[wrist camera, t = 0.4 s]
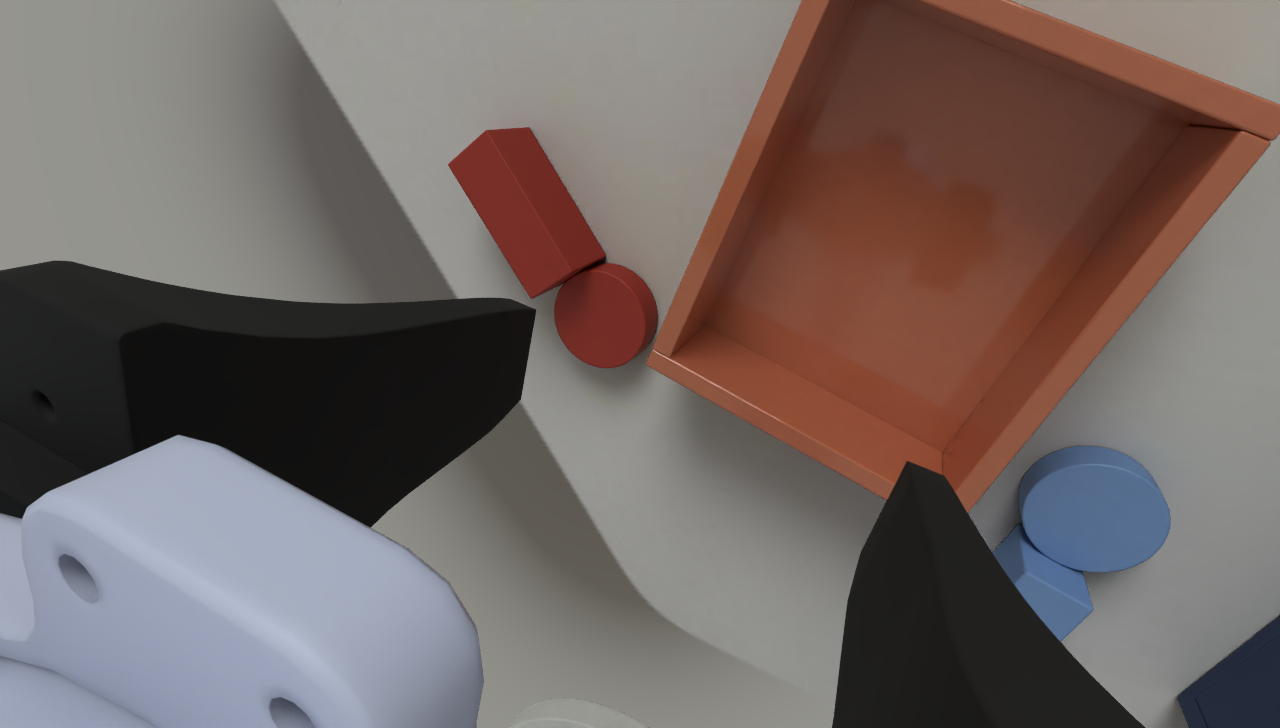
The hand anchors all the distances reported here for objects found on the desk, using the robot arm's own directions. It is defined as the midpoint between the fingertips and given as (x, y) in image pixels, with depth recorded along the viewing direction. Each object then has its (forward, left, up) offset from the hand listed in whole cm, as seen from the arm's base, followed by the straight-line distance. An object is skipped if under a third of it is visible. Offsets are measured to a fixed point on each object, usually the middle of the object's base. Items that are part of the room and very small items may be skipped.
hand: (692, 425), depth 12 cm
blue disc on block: (-5, -11, -11) cm, 16 cm away
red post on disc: (-3, +8, -11) cm, 14 cm away
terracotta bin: (+3, -2, -11) cm, 11 cm away
